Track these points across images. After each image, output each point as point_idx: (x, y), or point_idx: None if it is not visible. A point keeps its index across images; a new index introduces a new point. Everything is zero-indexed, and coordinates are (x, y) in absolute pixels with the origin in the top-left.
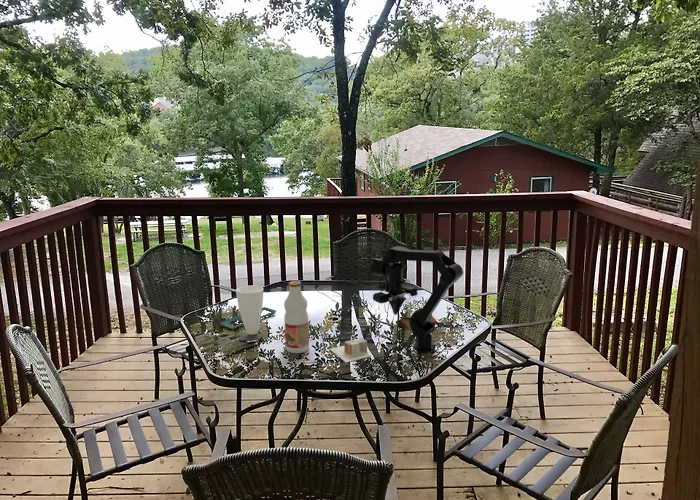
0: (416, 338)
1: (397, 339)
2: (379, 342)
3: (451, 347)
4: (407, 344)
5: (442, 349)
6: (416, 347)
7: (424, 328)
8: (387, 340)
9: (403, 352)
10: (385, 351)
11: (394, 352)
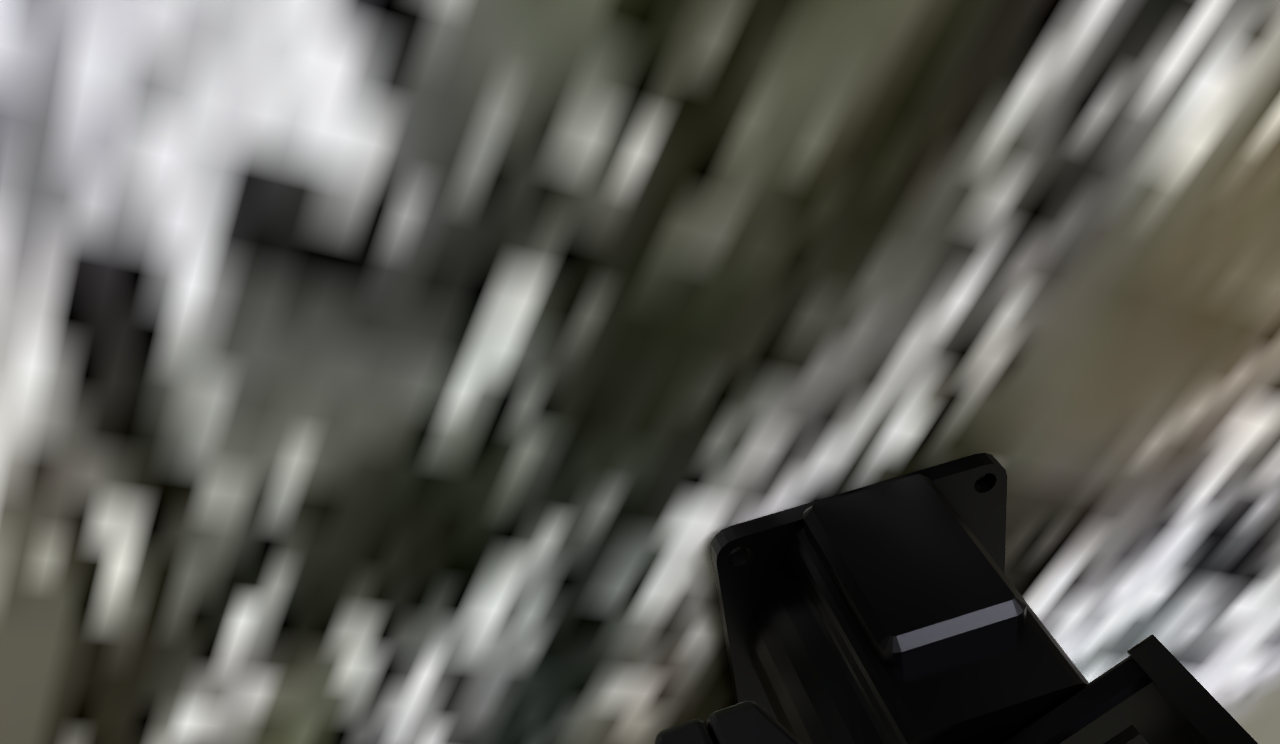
0: (824, 730)
1: (591, 84)
2: (43, 139)
3: (1235, 612)
4: (683, 396)
5: (1085, 653)
6: (750, 614)
7: (1163, 702)
8: (309, 71)
9: (459, 684)
10: (108, 615)
11: (289, 669)
